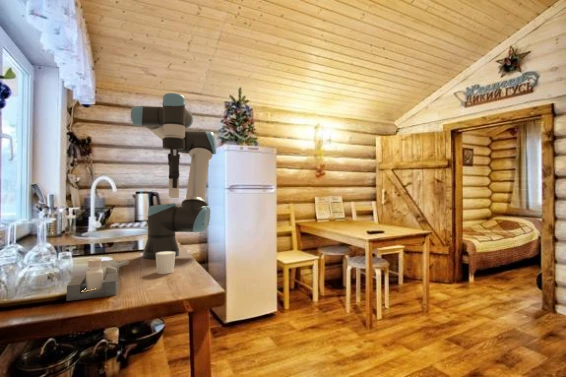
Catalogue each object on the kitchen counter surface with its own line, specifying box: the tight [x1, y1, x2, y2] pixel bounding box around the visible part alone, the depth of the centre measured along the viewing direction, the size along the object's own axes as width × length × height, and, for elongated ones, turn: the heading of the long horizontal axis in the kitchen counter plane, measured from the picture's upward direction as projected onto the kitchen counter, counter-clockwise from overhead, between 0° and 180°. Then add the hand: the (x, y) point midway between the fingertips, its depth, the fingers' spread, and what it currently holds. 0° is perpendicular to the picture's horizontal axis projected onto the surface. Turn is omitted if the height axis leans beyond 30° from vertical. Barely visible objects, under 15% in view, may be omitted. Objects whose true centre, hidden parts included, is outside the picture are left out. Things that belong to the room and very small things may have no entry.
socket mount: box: [65, 272, 119, 302], centre depth 88 cm, size 10×12×4 cm
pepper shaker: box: [85, 258, 104, 290], centre depth 88 cm, size 4×4×10 cm
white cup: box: [155, 251, 176, 275], centre depth 111 cm, size 7×7×7 cm
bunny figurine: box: [87, 259, 130, 280], centre depth 105 cm, size 10×5×15 cm
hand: (173, 197), depth 110 cm, fingers open, 13 cm apart
